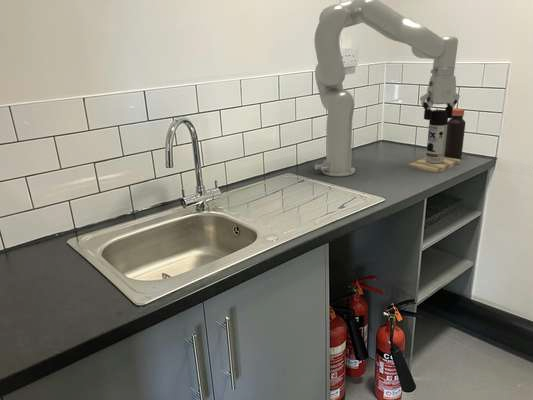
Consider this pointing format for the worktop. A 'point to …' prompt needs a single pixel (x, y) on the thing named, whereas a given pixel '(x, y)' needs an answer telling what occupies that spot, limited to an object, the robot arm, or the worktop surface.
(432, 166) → the oak board
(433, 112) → the spray can
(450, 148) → the bottle
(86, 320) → the worktop surface
